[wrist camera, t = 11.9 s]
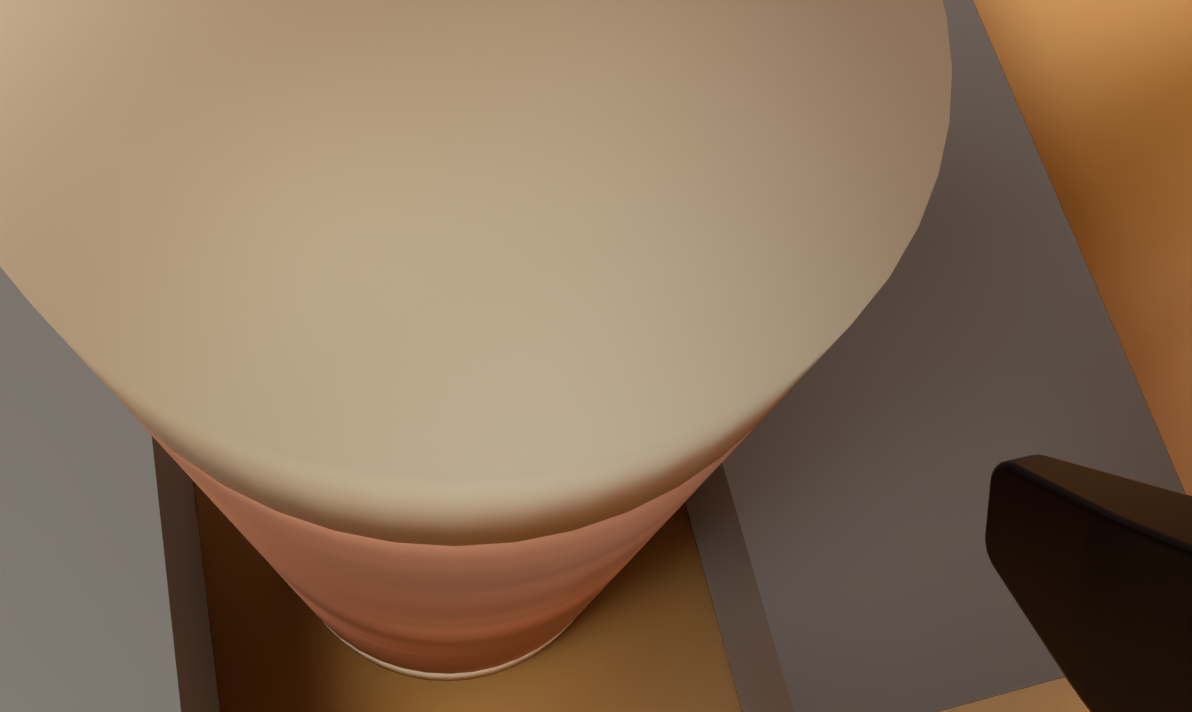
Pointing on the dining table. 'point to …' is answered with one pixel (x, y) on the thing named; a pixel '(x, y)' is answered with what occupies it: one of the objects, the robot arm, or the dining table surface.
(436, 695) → the dining table surface
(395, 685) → the dining table surface
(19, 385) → the notched board
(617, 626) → the dining table surface
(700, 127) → the bobbin
